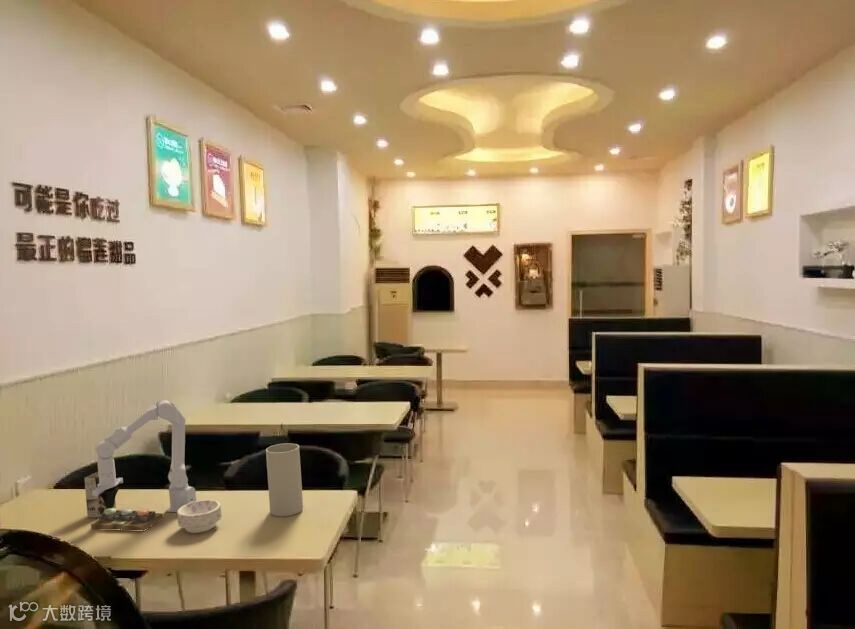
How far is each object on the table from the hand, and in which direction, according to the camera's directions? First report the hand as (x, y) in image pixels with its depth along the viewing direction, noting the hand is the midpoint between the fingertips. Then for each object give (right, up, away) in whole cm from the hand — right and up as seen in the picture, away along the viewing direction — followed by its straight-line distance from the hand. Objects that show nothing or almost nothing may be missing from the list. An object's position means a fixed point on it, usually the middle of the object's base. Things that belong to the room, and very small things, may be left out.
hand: (110, 507), depth 247 cm
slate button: (+7, -2, -1) cm, 7 cm away
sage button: (0, -3, 0) cm, 2 cm away
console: (+7, -6, -1) cm, 9 cm away
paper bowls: (+37, -5, -8) cm, 39 cm away
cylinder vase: (+66, -3, +4) cm, 67 cm away
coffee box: (-9, -6, +11) cm, 16 cm away
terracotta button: (+14, -2, -3) cm, 14 cm away
